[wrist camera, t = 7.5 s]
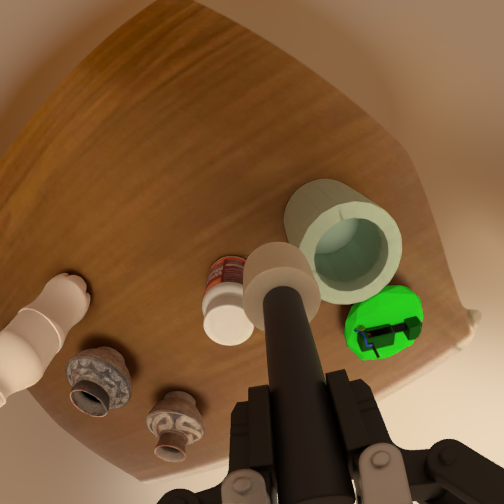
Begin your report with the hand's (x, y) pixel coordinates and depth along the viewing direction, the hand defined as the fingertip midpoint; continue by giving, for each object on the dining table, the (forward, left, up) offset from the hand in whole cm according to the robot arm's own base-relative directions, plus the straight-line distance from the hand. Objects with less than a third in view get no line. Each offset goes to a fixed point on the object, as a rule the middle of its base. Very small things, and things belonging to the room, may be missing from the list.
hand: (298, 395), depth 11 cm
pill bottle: (+9, -6, -30) cm, 32 cm away
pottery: (+25, -26, -30) cm, 47 cm away
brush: (0, 0, -11) cm, 11 cm away
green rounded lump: (+19, +13, -30) cm, 38 cm away
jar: (+4, +7, -30) cm, 31 cm away
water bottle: (+6, -30, -30) cm, 43 cm away
